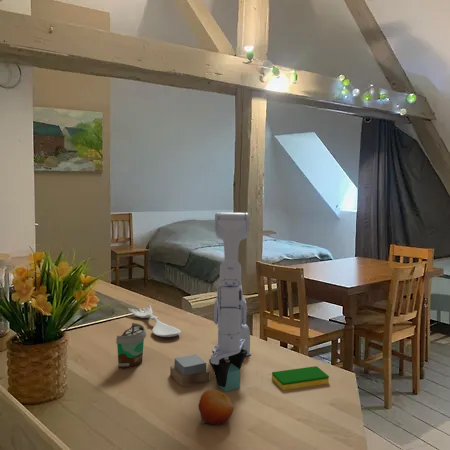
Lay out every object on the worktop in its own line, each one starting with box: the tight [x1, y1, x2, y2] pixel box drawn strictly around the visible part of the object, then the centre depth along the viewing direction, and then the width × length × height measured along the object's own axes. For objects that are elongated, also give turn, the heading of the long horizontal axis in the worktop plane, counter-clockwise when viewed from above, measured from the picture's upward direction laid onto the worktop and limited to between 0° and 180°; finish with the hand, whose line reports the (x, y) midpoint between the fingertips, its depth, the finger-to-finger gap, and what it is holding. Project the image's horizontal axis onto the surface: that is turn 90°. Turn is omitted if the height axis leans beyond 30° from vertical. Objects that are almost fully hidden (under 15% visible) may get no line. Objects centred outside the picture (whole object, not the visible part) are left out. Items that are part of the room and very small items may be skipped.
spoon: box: [127, 304, 182, 338], centre depth 181 cm, size 9×32×4 cm, turn 30°
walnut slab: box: [169, 365, 211, 388], centre depth 140 cm, size 8×8×3 cm
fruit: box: [198, 389, 235, 426], centre depth 118 cm, size 8×8×8 cm
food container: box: [115, 322, 147, 370], centre depth 149 cm, size 12×6×10 cm, turn 168°
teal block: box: [218, 363, 241, 392], centre depth 135 cm, size 4×4×5 cm
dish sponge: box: [271, 365, 330, 391], centre depth 139 cm, size 7×14×2 cm, turn 109°
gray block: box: [173, 353, 207, 376], centre depth 139 cm, size 6×6×2 cm
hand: (228, 381), depth 135 cm, fingers closed on teal block, 6 cm apart
